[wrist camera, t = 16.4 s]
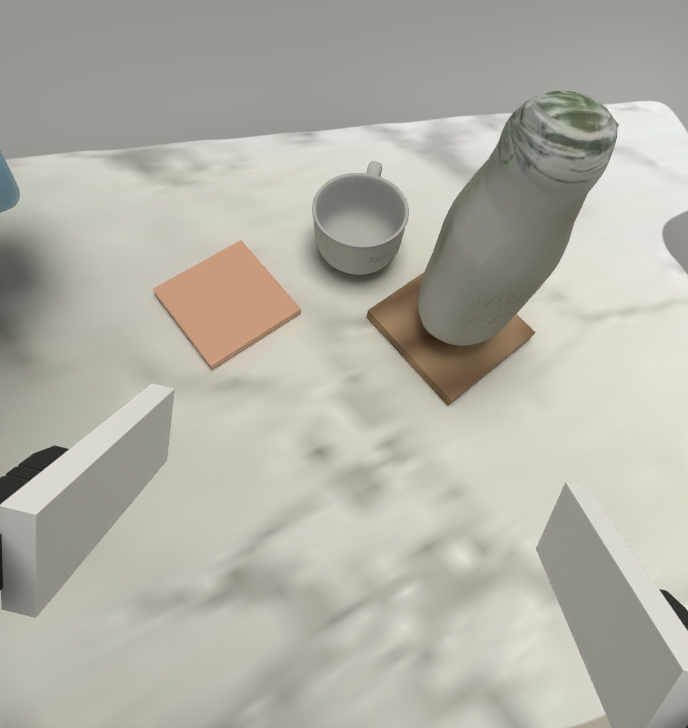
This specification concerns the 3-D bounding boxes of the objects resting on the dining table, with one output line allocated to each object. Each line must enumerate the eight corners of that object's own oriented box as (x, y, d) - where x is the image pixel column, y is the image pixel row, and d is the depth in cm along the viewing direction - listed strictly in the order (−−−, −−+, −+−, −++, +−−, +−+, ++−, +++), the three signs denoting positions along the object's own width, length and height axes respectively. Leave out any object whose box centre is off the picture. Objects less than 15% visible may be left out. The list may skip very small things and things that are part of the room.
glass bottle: (476, 279, 59) (616, 52, 33) (503, 355, 55) (685, 162, 30) (398, 289, 57) (484, 57, 32) (420, 367, 53) (537, 174, 28)
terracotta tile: (154, 293, 56) (152, 289, 55) (241, 245, 60) (241, 240, 59) (212, 369, 53) (211, 365, 52) (300, 313, 57) (300, 308, 56)
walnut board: (366, 316, 57) (368, 310, 56) (449, 260, 62) (453, 252, 60) (447, 405, 53) (451, 400, 52) (529, 338, 58) (535, 332, 57)
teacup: (375, 300, 58) (386, 260, 51) (295, 264, 59) (295, 220, 52) (417, 221, 64) (433, 174, 57) (344, 189, 65) (349, 140, 58)
